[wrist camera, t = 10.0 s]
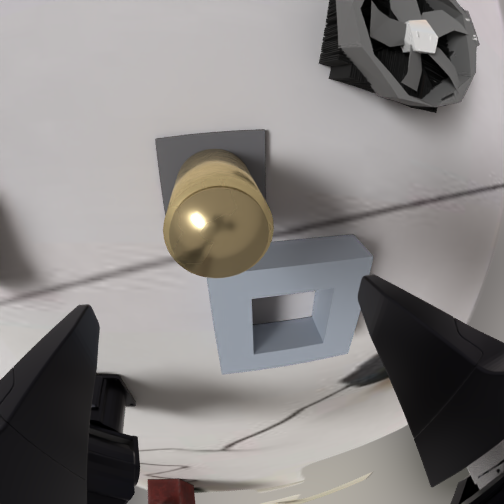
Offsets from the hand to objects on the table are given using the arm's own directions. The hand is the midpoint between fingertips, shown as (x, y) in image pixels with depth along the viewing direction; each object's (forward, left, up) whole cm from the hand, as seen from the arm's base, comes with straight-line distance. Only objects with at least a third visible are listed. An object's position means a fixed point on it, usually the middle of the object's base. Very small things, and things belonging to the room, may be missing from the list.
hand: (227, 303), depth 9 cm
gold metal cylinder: (0, 0, -12) cm, 12 cm away
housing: (-11, -5, -12) cm, 17 cm away
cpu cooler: (+11, -12, -13) cm, 21 cm away
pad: (0, 0, -12) cm, 12 cm away
